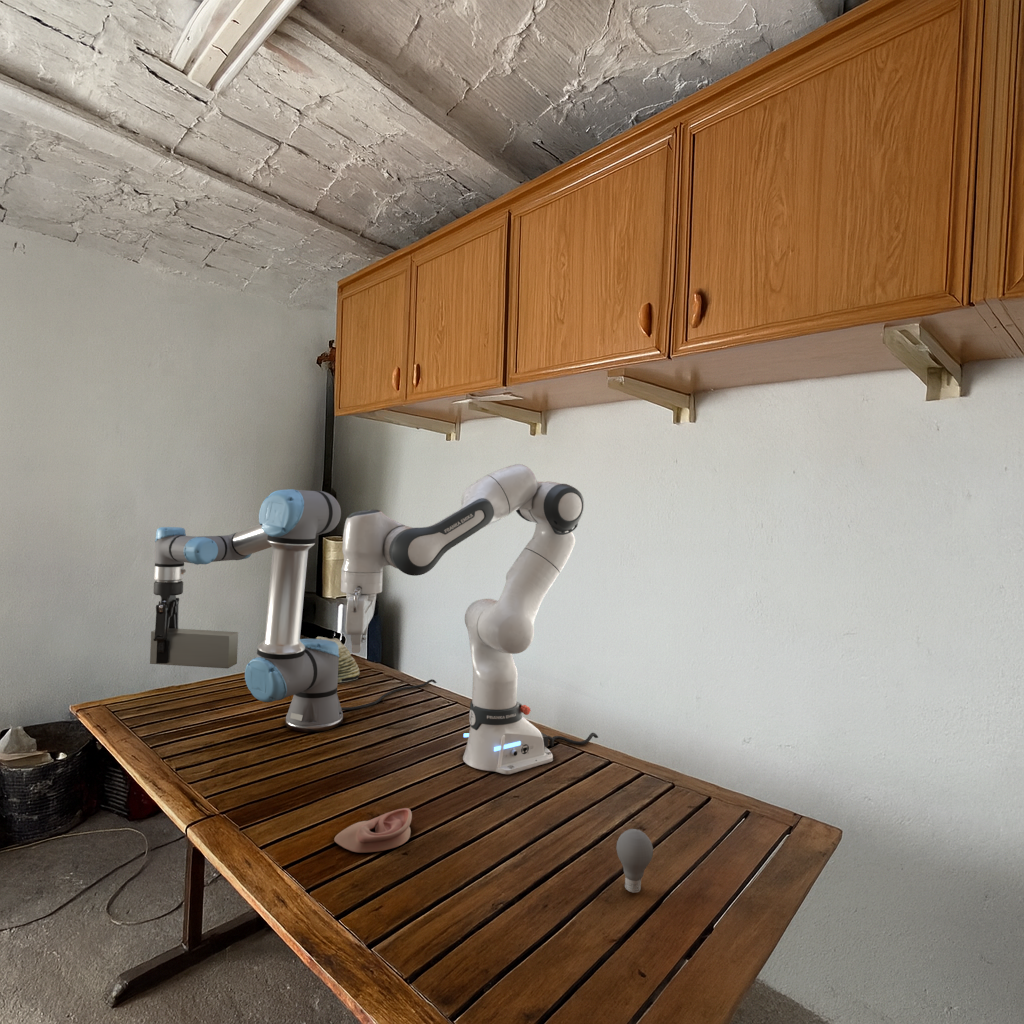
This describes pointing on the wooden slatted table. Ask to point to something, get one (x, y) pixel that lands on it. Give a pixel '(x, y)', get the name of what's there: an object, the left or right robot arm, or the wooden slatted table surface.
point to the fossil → (345, 663)
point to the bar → (198, 648)
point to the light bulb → (634, 857)
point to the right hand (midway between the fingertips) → (359, 646)
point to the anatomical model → (377, 832)
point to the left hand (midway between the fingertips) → (165, 659)
